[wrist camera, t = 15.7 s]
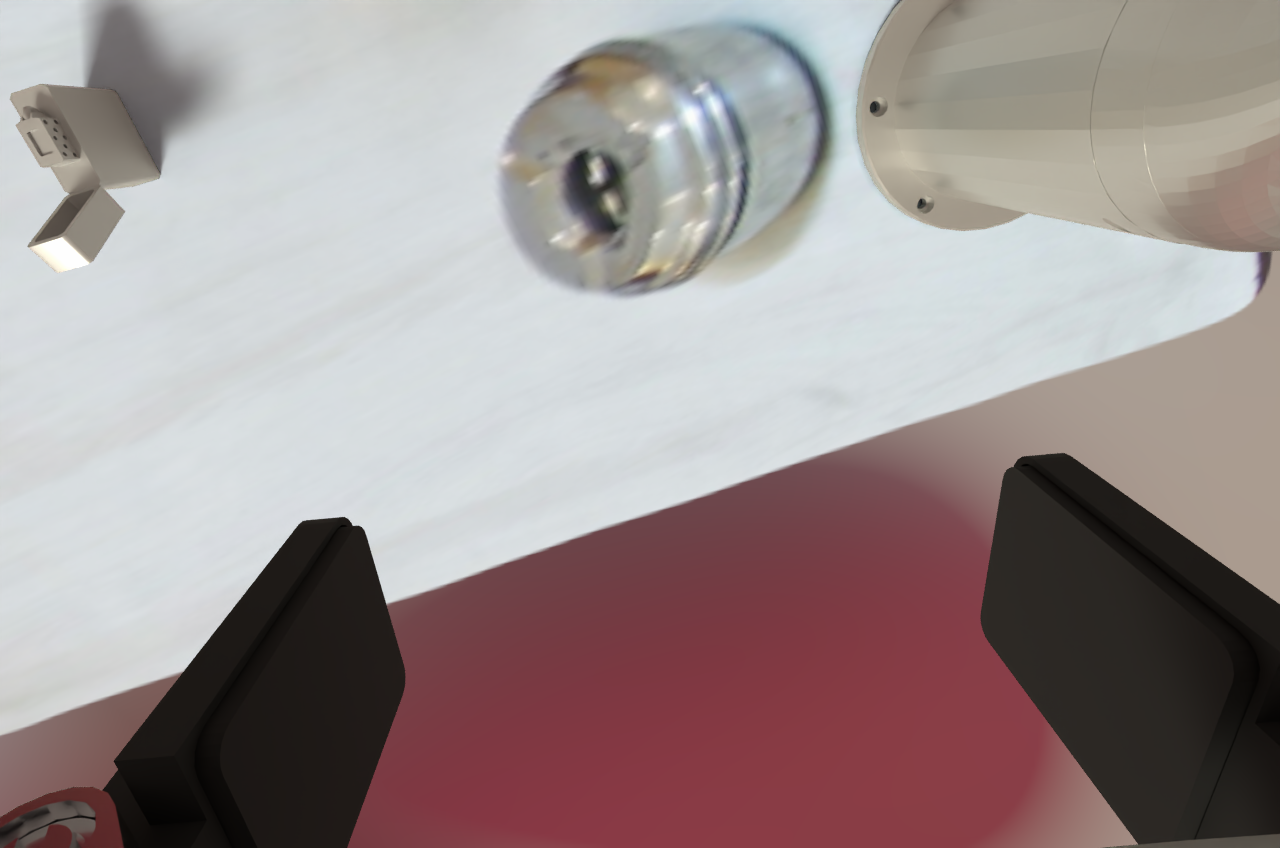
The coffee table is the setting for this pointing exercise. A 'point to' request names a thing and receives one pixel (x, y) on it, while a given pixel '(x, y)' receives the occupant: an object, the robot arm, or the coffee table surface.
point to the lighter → (81, 165)
